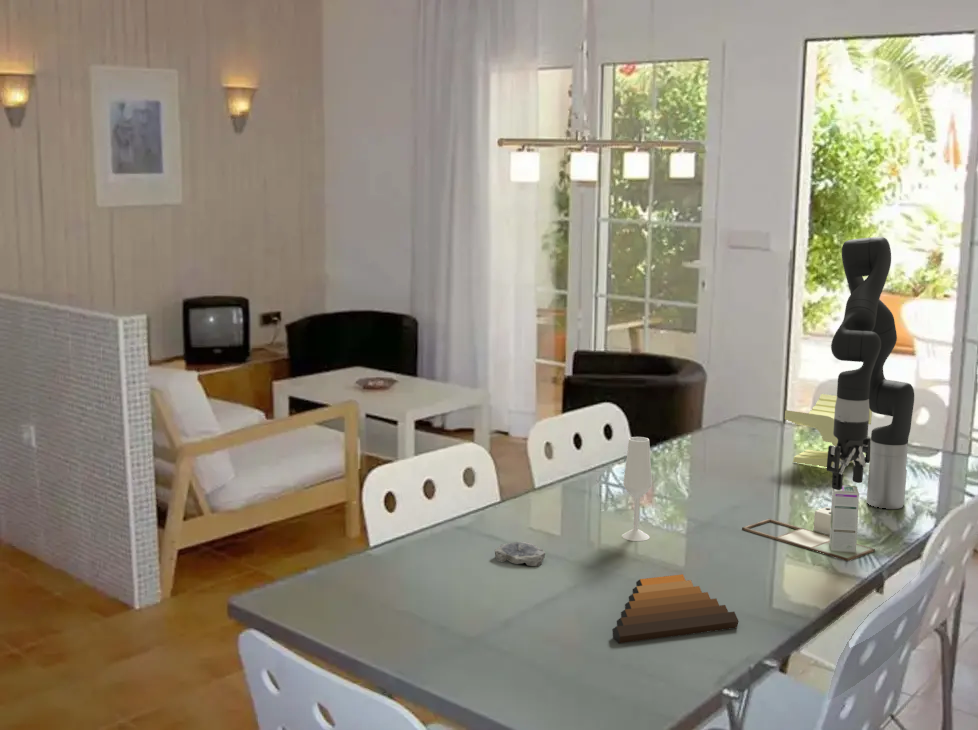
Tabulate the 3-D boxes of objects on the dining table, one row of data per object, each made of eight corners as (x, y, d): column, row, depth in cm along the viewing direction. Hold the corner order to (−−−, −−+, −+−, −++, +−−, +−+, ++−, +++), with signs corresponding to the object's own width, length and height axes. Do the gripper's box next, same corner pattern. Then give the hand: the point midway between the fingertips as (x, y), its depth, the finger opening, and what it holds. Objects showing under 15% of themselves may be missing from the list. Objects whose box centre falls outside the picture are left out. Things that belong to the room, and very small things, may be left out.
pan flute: (619, 647, 216) (738, 631, 224) (620, 630, 216) (738, 614, 223) (569, 599, 240) (678, 586, 247) (570, 583, 239) (679, 571, 247)
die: (825, 526, 287) (826, 506, 286) (842, 531, 284) (844, 511, 283) (813, 530, 284) (814, 510, 283) (831, 535, 280) (832, 515, 279)
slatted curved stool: (835, 478, 331) (839, 417, 328) (781, 469, 340) (785, 410, 337) (868, 457, 355) (872, 400, 352) (817, 449, 364) (821, 393, 361)
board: (769, 520, 291) (769, 518, 291) (874, 551, 270) (874, 548, 269) (742, 529, 284) (742, 527, 284) (848, 561, 262) (848, 559, 262)
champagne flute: (653, 534, 280) (657, 437, 275) (644, 542, 274) (648, 443, 269) (626, 530, 282) (629, 434, 278) (617, 538, 276) (621, 440, 272)
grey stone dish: (489, 551, 258) (504, 530, 267) (488, 567, 260) (503, 545, 268) (538, 563, 255) (551, 540, 263) (537, 578, 256) (550, 555, 265)
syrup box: (856, 553, 266) (860, 492, 264) (829, 551, 268) (833, 490, 265) (854, 545, 272) (858, 485, 269) (828, 543, 273) (832, 483, 270)
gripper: (854, 409, 271) (849, 476, 274) (819, 418, 262) (815, 487, 265) (883, 415, 266) (878, 483, 269) (848, 424, 257) (844, 495, 260)
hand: (847, 485), depth 267 cm, fingers open, 8 cm apart
